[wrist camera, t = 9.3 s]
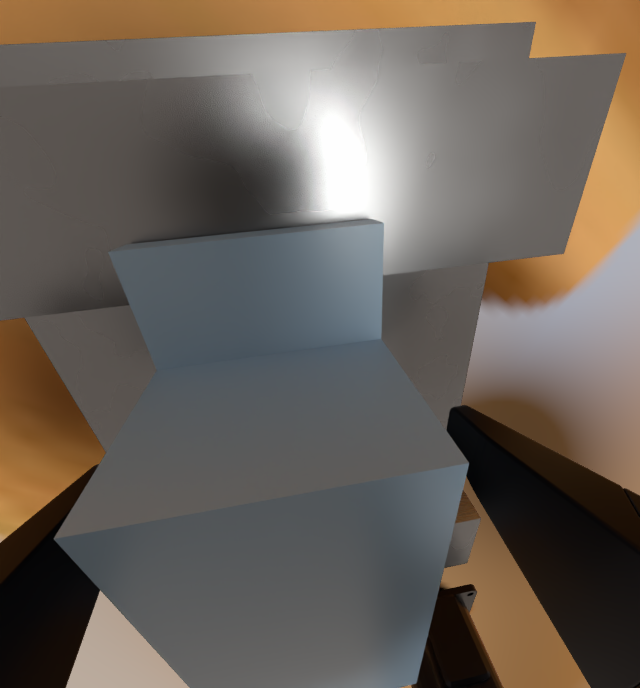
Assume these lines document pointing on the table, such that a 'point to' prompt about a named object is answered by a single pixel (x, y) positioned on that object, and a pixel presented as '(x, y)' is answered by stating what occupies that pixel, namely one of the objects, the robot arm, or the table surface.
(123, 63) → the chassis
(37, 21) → the table surface
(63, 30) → the table surface
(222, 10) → the table surface
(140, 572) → the block
